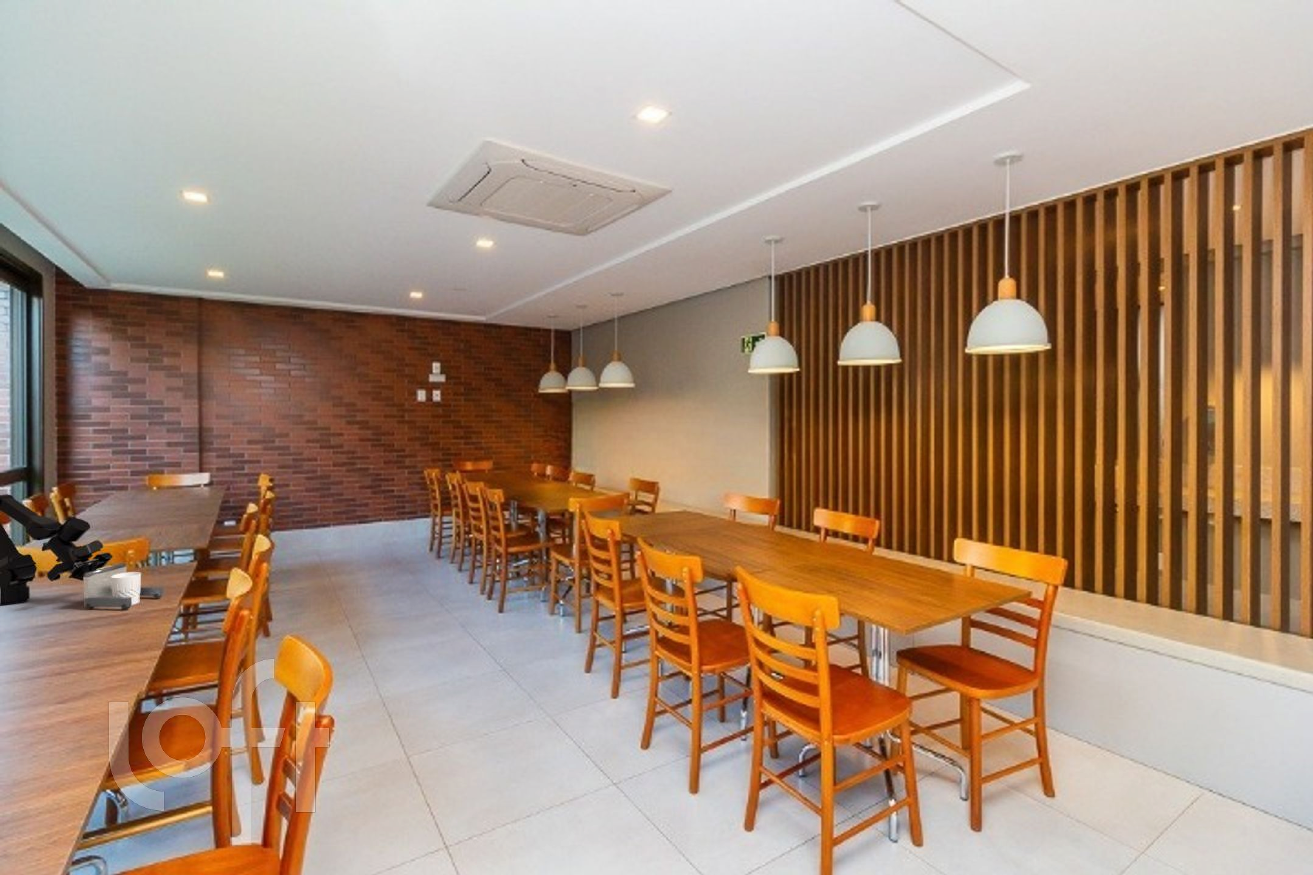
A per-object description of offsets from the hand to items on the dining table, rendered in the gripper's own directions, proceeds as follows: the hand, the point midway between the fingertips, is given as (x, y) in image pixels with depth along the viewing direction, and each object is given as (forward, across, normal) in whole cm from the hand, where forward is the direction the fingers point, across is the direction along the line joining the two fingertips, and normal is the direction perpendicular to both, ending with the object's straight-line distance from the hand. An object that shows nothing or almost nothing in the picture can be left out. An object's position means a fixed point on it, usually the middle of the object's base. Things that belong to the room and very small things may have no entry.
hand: (98, 583), depth 211 cm
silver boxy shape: (+11, 0, -2) cm, 11 cm away
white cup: (+12, 0, -2) cm, 12 cm away
